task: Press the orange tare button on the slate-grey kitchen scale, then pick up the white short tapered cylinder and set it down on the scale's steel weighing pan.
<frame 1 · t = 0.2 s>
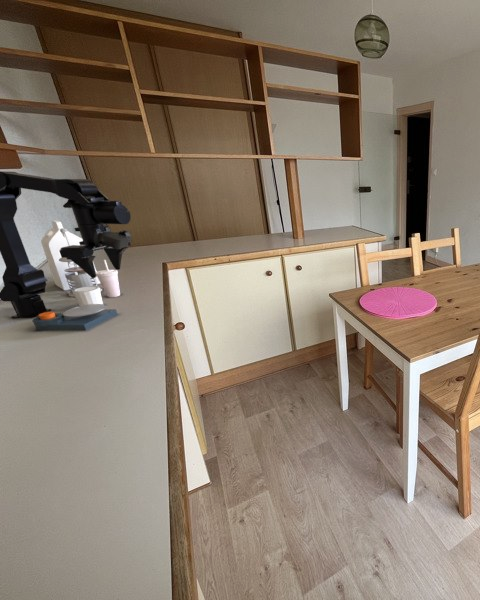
hand: (106, 273, 99), 14 cm above the counter, tool pointing down, fingers open, 9 cm apart
tare button: (47, 316, 93), point 4 cm above the counter, slide at 0.1 cm
smoothie: (114, 296, 121), on the counter
scale: (79, 322, 99), on the counter
weighing pan: (85, 310, 98), resting on scale
milk: (79, 284, 132), on the counter
french press: (85, 292, 124), on the counter
white short tapered cylinder: (92, 308, 110), on the counter
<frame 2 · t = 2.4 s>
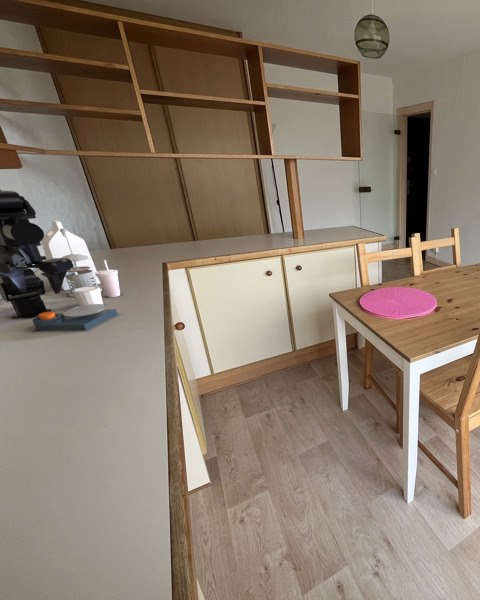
hand: (40, 293, 91), 11 cm above the counter, tool pointing down, fingers open, 9 cm apart
nothing on the counter moved.
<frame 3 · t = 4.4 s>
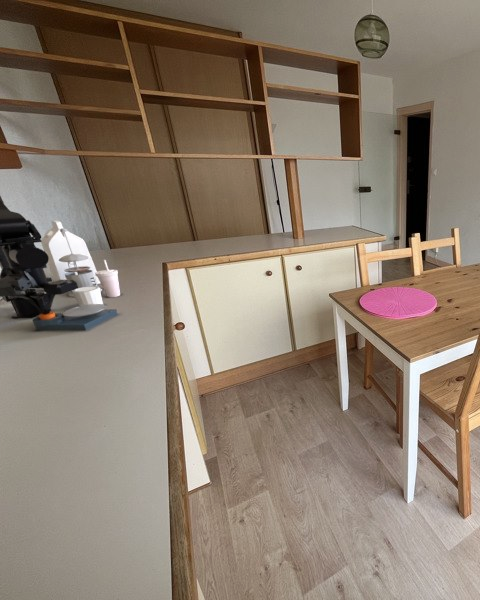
hand: (46, 313, 93), 5 cm above the counter, tool pointing down, fingers closed, pressing on tare button
tare button: (47, 316, 93), point 4 cm above the counter, slide at 0.0 cm, touching gripper
everything else where it was.
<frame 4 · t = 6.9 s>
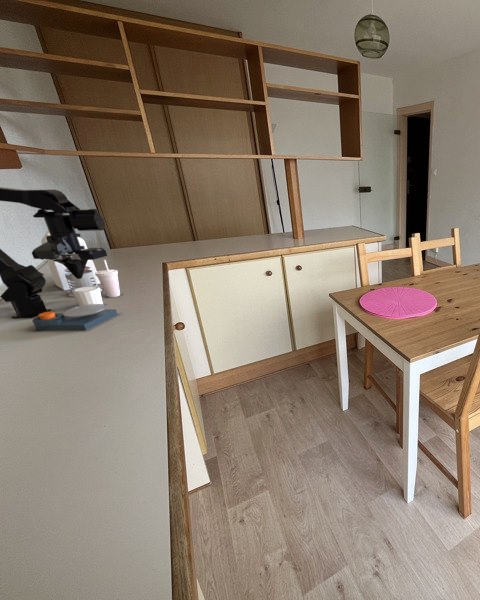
hand: (79, 278, 104), 11 cm above the counter, tool pointing down, fingers closed
tare button: (47, 316, 93), point 4 cm above the counter, slide at 0.1 cm
everything else where it was.
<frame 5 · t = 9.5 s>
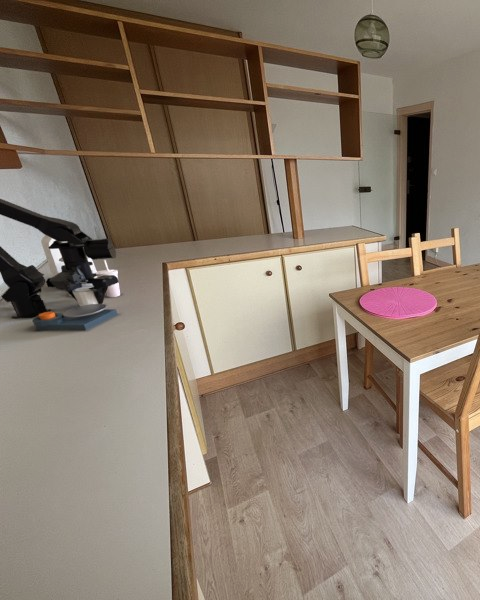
hand: (91, 304, 109), 1 cm above the counter, tool pointing down, fingers closed on white short tapered cylinder, 6 cm apart
white short tapered cylinder: (92, 308, 110), on the counter, touching gripper
everything else where it was.
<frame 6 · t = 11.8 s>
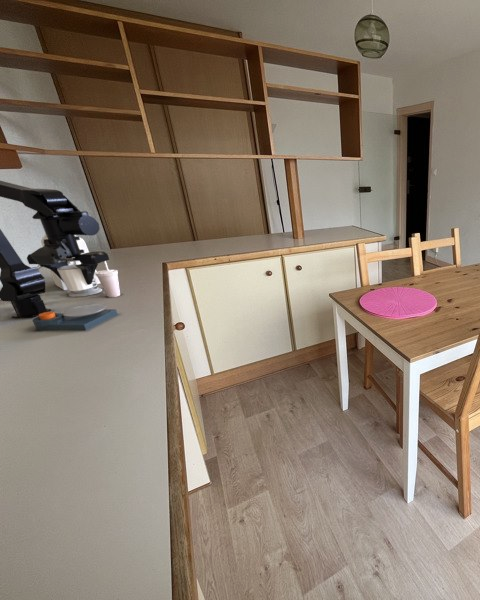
hand: (79, 284, 98), 11 cm above the counter, tool pointing down, fingers closed on white short tapered cylinder, 6 cm apart
white short tapered cylinder: (80, 288, 99), point 10 cm above the counter, touching gripper
everything else where it was.
when the fingers open (5 cm above the counter, at t = 14.0 s): white short tapered cylinder stays where it is, resting on weighing pan.
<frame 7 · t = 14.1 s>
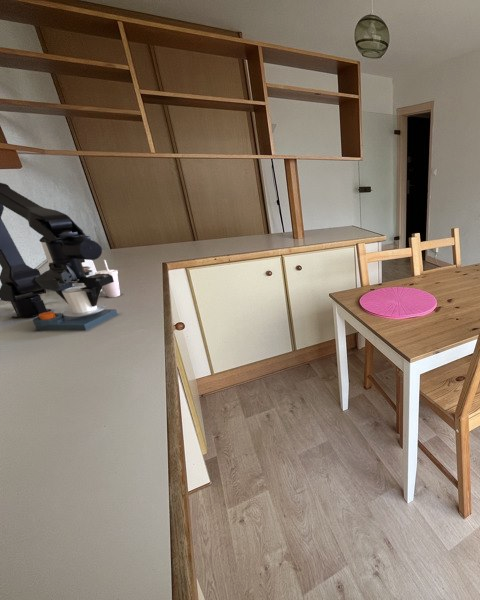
hand: (83, 306, 98), 5 cm above the counter, tool pointing down, fingers open, 6 cm apart
white short tapered cylinder: (85, 310, 98), point 4 cm above the counter, touching weighing pan
everything else where it was.
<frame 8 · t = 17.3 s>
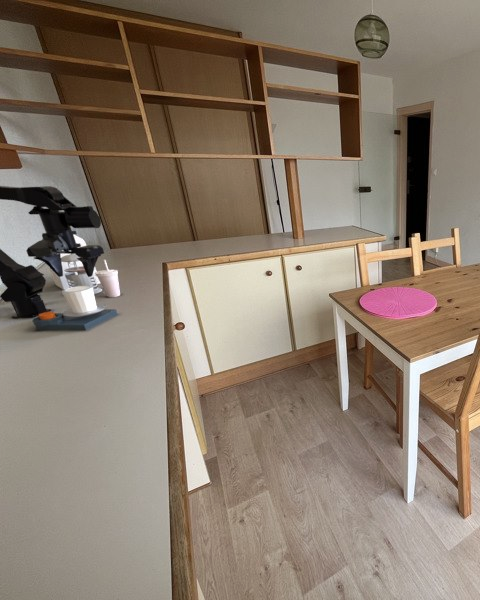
hand: (75, 276, 103), 12 cm above the counter, tool pointing down, fingers open, 9 cm apart
nothing on the counter moved.
at the end: tare button pushed in 1.0 cm at the most during the clip, back to where it started at the end; white short tapered cylinder 0.1 cm off-centre on the weighing pan, point 0.2 cm above the weighing pan's base; white short tapered cylinder tilted 0° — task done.
